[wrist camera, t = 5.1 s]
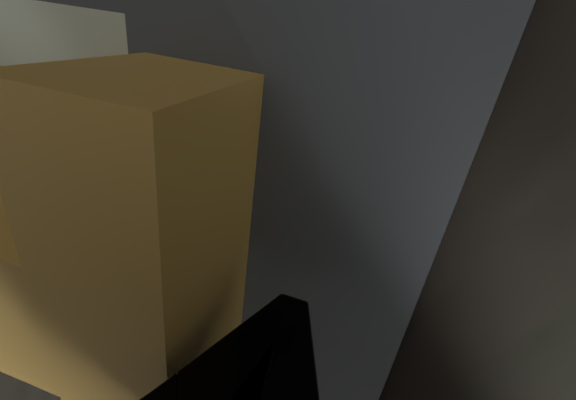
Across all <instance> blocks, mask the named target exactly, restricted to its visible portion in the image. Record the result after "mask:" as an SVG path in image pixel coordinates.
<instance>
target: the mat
mask: <svg viewBox="0 0 576 400" xmlns="http://www.w3.org/2000/svg"><path fill="white" fill-rule="evenodd" d="M535 1H536V0H0V66H7V65H18V64H28V63H39V62H50V61H60V60H71V59H81V58H92V57H102V56H113V55H124V54H134V53H145V52H147V53H152V54H157V55H163V56H168V57H174V58H179V59H184V60H190V61H195V62H200V63H206V64H211V65H216V66H222V67H227V68H232V69H238V70H243V71H249V72H254V73H259V74H264V85H263V96H262V107H261V118H260V128H259V139H258V150H257V161H256V172H255V183H254V193H253V204H252V215H251V226H250V237H249V247H248V258H247V269H246V280H245V291H244V301H243V312H242V323H243V322H244V321H245V320H247V319H248V318H249V317H251V316H252V315H253V314H255V313H256V312H257V311H259V310H260V309H261V308H263V307H264V306H265V305H267V304H268V303H269V302H271V301H272V300H273V299H275V298H276V297H277V296H279V295H280V294H286V295H289V296H292V297H295V298H298V299H301V300H304V301H307V302H308V304H309V313H310V321H311V330H312V339H313V348H314V356H315V365H316V374H317V383H318V391H319V400H379V398H380V395H381V393H382V390H383V387H384V385H385V382H386V380H387V377H388V375H389V372H390V370H391V367H392V365H393V362H394V360H395V357H396V354H397V352H398V349H399V347H400V344H401V342H402V339H403V337H404V334H405V332H406V329H407V327H408V324H409V321H410V319H411V316H412V314H413V311H414V309H415V306H416V304H417V301H418V299H419V296H420V294H421V291H422V288H423V286H424V283H425V281H426V278H427V276H428V273H429V271H430V268H431V266H432V263H433V260H434V258H435V255H436V253H437V250H438V248H439V245H440V243H441V240H442V238H443V235H444V233H445V230H446V227H447V225H448V222H449V220H450V217H451V215H452V212H453V210H454V207H455V205H456V202H457V200H458V197H459V194H460V192H461V189H462V187H463V184H464V182H465V179H466V177H467V174H468V172H469V169H470V167H471V164H472V161H473V159H474V156H475V154H476V151H477V149H478V146H479V144H480V141H481V139H482V136H483V134H484V131H485V128H486V126H487V123H488V121H489V118H490V116H491V113H492V111H493V108H494V106H495V103H496V101H497V98H498V95H499V93H500V90H501V88H502V85H503V83H504V80H505V78H506V75H507V73H508V70H509V67H510V65H511V62H512V60H513V57H514V55H515V52H516V50H517V47H518V45H519V42H520V40H521V37H522V34H523V32H524V29H525V27H526V24H527V22H528V19H529V17H530V14H531V12H532V9H533V7H534V4H535Z"/></svg>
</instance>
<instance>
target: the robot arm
mask: <svg viewBox="0 0 576 400" xmlns="http://www.w3.org/2000/svg"><path fill="white" fill-rule="evenodd" d="M140 400H319V391H318V383H317V374H316V365H315V356H314V348H313V339H312V330H311V321H310V313H309V304H308V302H307V301H304V300H301V299H298V298H295V297H292V296H289V295H286V294H280V295H279V296H277V297H276V298H275V299H273V300H272V301H271V302H269V303H268V304H267V305H265V306H264V307H263V308H261V309H260V310H259V311H257V312H256V313H255V314H253V315H252V316H251V317H249V318H248V319H247V320H245V321H244V322H243V323H241V324H240V325H239V326H238V327H236V328H235V329H234V330H232V331H231V332H230V333H228V334H227V335H226V336H224V337H223V338H222V339H220V340H219V341H218V342H216V343H215V344H214V345H212V346H211V347H210V348H208V349H207V350H206V351H204V352H203V353H202V354H200V355H199V356H198V357H196V358H195V359H194V360H193V361H191V362H190V363H189V364H187V365H186V366H185V367H183V368H182V369H181V370H179V371H178V376H177V374H174V375H172V376H171V377H170V378H168V379H167V380H166V381H165V382H163V383H162V384H161V385H159V386H158V387H156V388H155V389H154V390H152V391H151V392H149V393H148V394H147V395H145V396H144V397H142V398H141V399H140Z"/></svg>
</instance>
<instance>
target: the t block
mask: <svg viewBox="0 0 576 400" xmlns="http://www.w3.org/2000/svg"><path fill="white" fill-rule="evenodd" d="M263 85H264V74H259V73H254V72H249V71H243V70H238V69H232V68H227V67H222V66H216V65H211V64H206V63H200V62H195V61H190V60H184V59H179V58H174V57H168V56H163V55H157V54H152V53H147V52H145V53H134V54H124V55H113V56H102V57H92V58H81V59H71V60H60V61H50V62H39V63H28V64H18V65H7V66H0V371H1V372H3V373H5V374H8V375H10V376H12V377H15V378H17V379H19V380H22V381H24V382H26V383H29V384H31V385H33V386H36V387H38V388H40V389H43V390H45V391H47V392H49V393H52V394H54V395H56V396H59V397H60V398H61V400H140V399H141V398H142V397H144V396H145V395H147V394H148V393H149V392H151V391H152V390H154V389H155V388H156V387H158V386H159V385H161V384H162V383H163V382H165V381H166V380H167V379H168V378H170V377H171V376H172V375H174V374H177V376H178V371H179V370H181V369H182V368H183V367H185V366H186V365H187V364H189V363H190V362H191V361H193V360H194V359H195V358H196V357H198V356H199V355H200V354H202V353H203V352H204V351H206V350H207V349H208V348H210V347H211V346H212V345H214V344H215V343H216V342H218V341H219V340H220V339H222V338H223V337H224V336H226V335H227V334H228V333H230V332H231V331H232V330H234V329H235V328H236V327H238V326H239V325H240V324H241V323H242V312H243V301H244V291H245V280H246V269H247V258H248V247H249V237H250V226H251V215H252V204H253V193H254V183H255V172H256V161H257V150H258V139H259V128H260V118H261V107H262V96H263Z"/></svg>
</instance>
